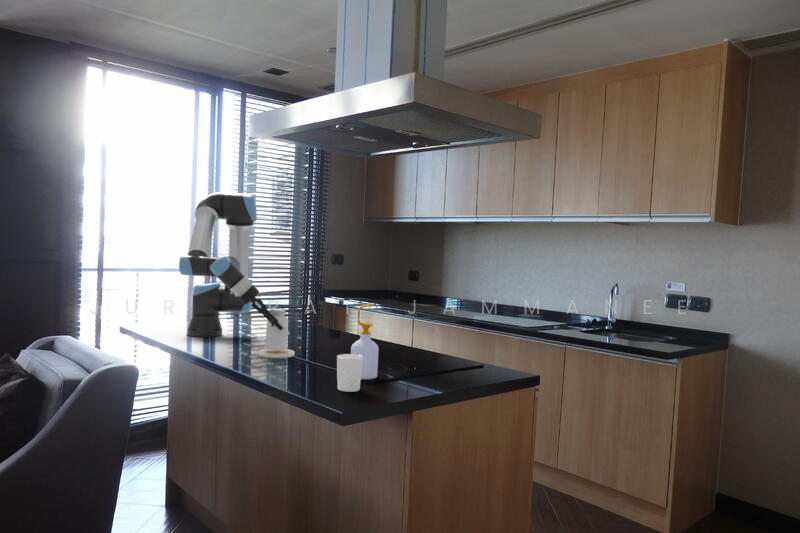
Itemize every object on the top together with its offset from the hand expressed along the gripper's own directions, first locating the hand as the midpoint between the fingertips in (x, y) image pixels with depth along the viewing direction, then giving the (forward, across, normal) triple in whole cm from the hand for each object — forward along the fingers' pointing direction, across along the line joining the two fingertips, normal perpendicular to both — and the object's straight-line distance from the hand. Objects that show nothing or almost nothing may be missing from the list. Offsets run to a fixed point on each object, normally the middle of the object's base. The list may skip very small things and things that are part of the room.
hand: (285, 333), depth 225 cm
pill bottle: (+2, 0, -7) cm, 7 cm away
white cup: (+14, +56, +2) cm, 58 cm away
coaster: (+4, 0, -8) cm, 9 cm away
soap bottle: (+21, +40, +9) cm, 46 cm away
